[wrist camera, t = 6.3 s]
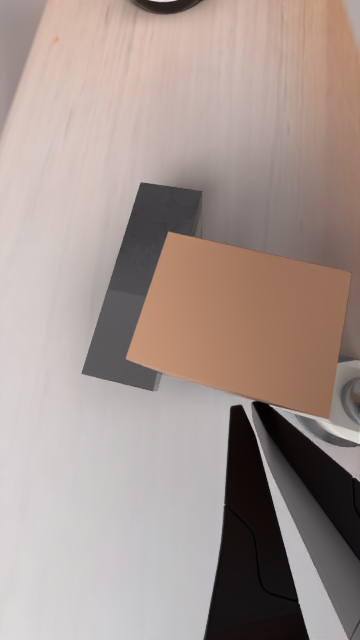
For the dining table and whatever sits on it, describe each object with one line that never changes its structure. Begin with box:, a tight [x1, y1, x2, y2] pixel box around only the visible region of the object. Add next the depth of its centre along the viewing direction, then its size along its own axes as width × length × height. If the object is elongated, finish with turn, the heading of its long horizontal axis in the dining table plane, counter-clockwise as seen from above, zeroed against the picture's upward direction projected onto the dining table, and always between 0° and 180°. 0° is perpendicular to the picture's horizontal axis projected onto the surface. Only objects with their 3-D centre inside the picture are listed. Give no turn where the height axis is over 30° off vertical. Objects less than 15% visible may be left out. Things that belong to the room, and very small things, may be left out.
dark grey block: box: [82, 182, 202, 391], centre depth 16 cm, size 4×11×5 cm, turn 167°
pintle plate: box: [295, 356, 360, 447], centre depth 14 cm, size 5×5×4 cm
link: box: [126, 232, 360, 444], centre depth 10 cm, size 15×4×11 cm, turn 74°
